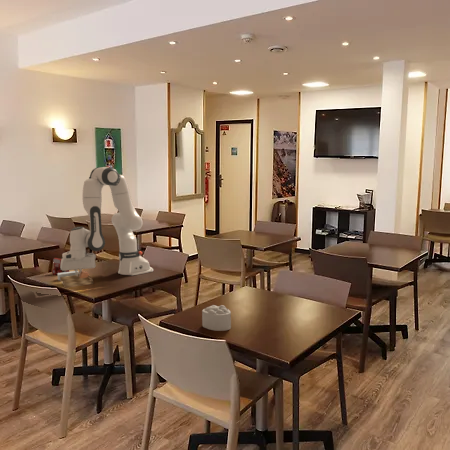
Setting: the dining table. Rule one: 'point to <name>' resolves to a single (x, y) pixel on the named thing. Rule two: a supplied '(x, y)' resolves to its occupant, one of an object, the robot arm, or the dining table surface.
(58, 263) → the toy fire truck
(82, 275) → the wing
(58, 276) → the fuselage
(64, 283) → the jig
